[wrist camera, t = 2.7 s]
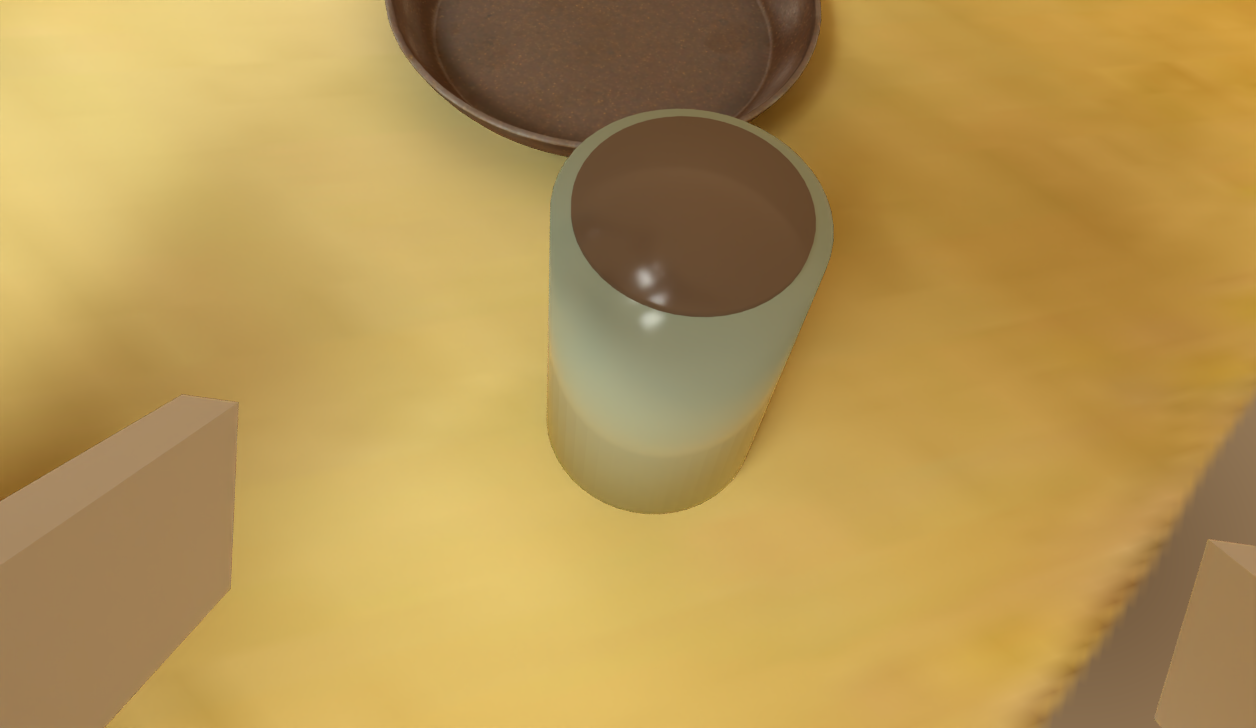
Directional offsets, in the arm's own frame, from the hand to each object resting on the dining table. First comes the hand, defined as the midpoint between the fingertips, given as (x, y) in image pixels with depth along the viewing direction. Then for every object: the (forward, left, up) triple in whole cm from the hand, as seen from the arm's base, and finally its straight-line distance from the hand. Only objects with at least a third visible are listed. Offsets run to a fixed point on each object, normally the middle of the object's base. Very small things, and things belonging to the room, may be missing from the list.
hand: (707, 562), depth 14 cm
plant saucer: (-24, +16, -18) cm, 34 cm away
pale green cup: (-8, +7, -17) cm, 21 cm away
